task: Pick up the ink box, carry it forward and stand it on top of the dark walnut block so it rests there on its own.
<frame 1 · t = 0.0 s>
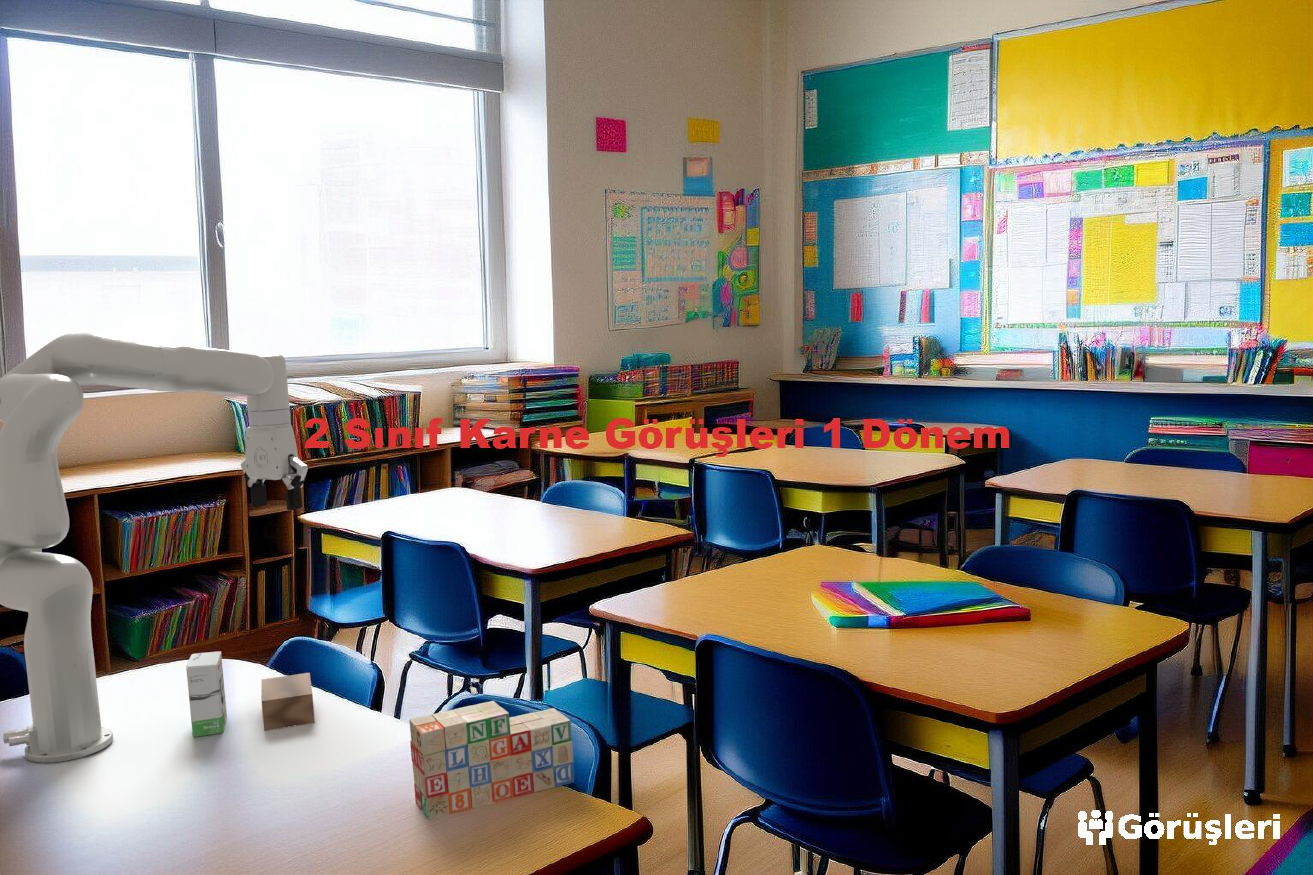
hand: (277, 507, 214), 31 cm above the table, tool pointing down, fingers open, 9 cm apart
ink box: (210, 728, 186), on the table
stack of blocks: (496, 794, 156), on the table
walnut block: (288, 714, 190), on the table
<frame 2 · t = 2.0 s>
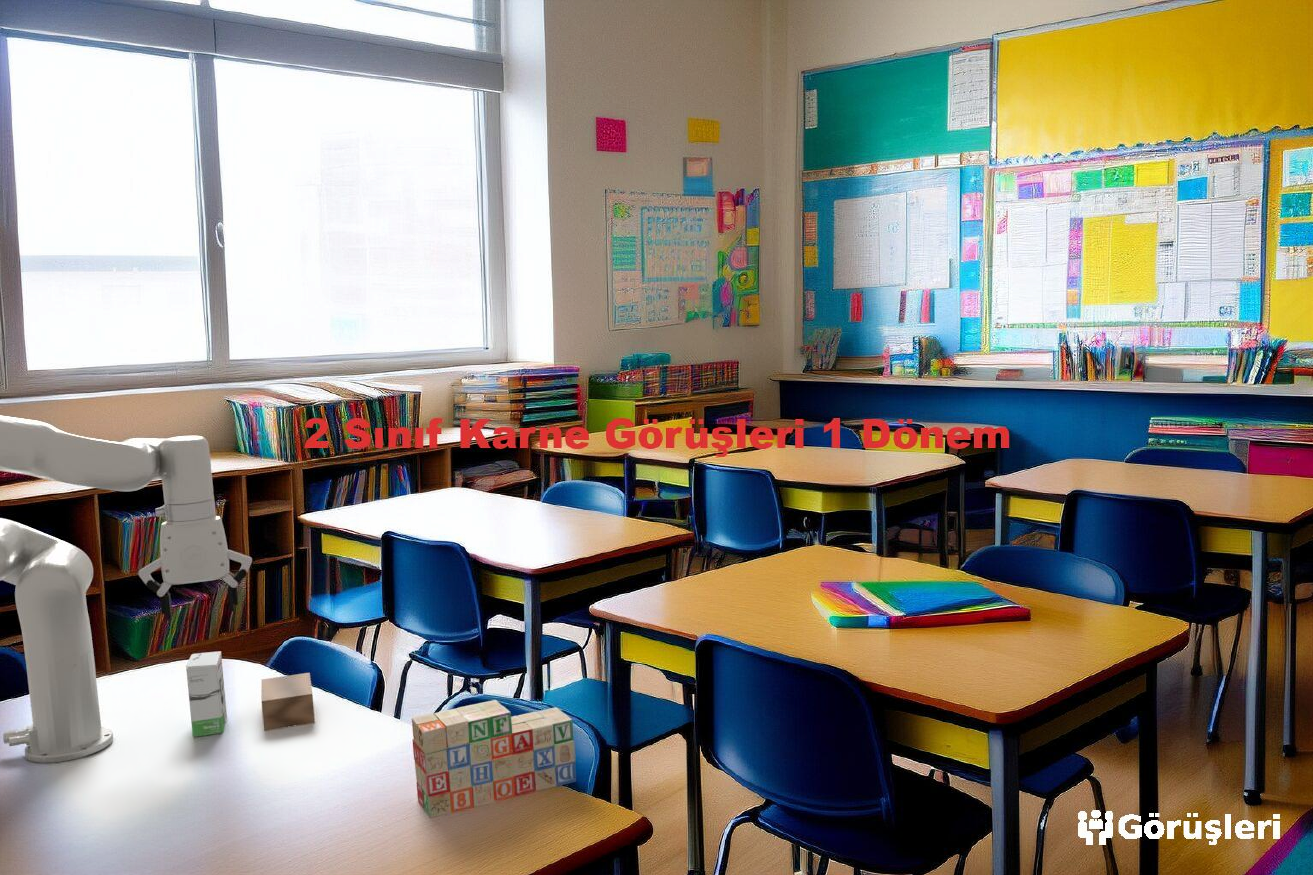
hand: (201, 613, 184), 19 cm above the table, tool pointing down, fingers open, 9 cm apart
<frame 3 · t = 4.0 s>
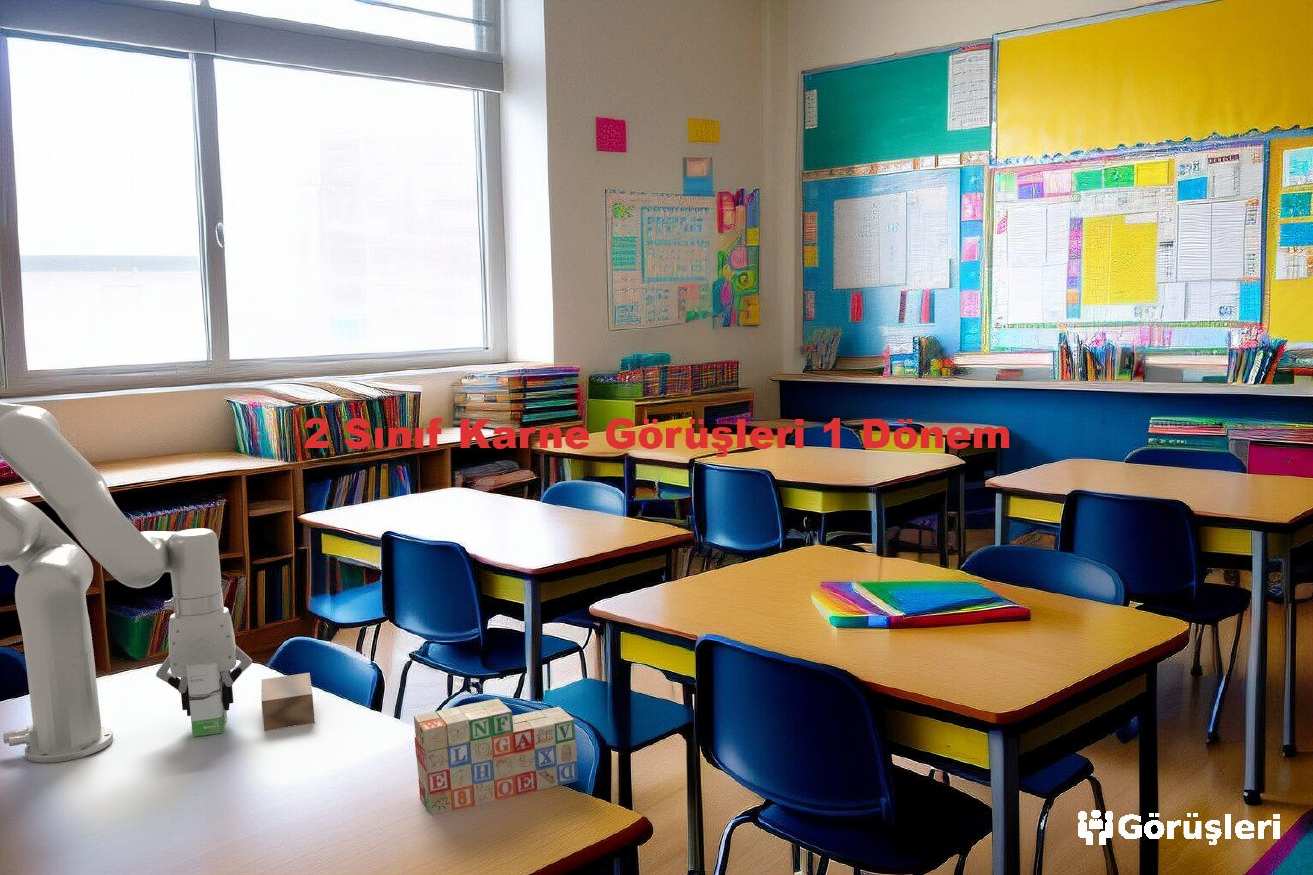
hand: (208, 709, 186), 3 cm above the table, tool pointing down, fingers closed on ink box, 5 cm apart
ink box: (210, 727, 186), on the table, touching gripper
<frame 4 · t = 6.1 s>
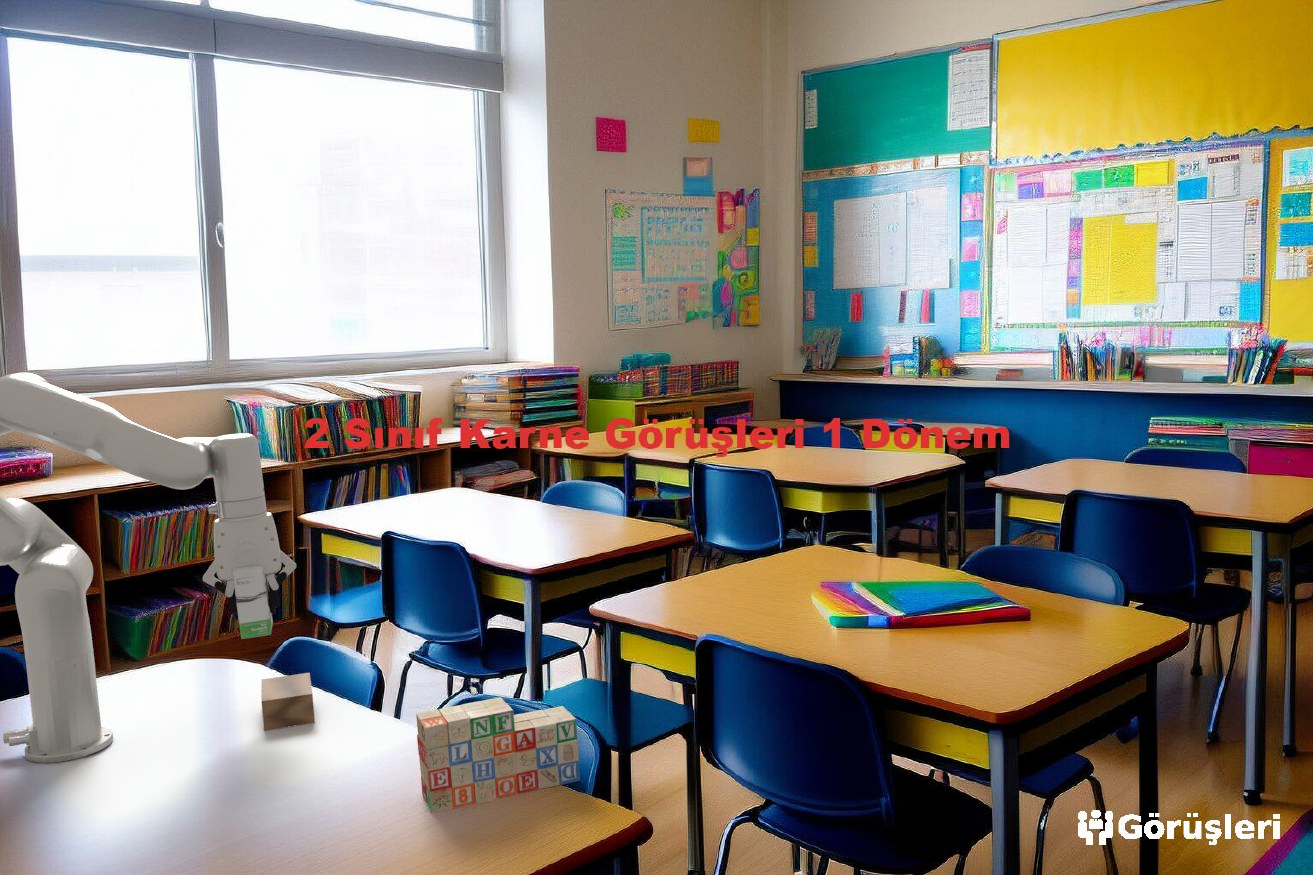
hand: (255, 613, 187), 18 cm above the table, tool pointing down, fingers closed on ink box, 5 cm apart
ink box: (257, 632, 187), point 15 cm above the table, touching gripper
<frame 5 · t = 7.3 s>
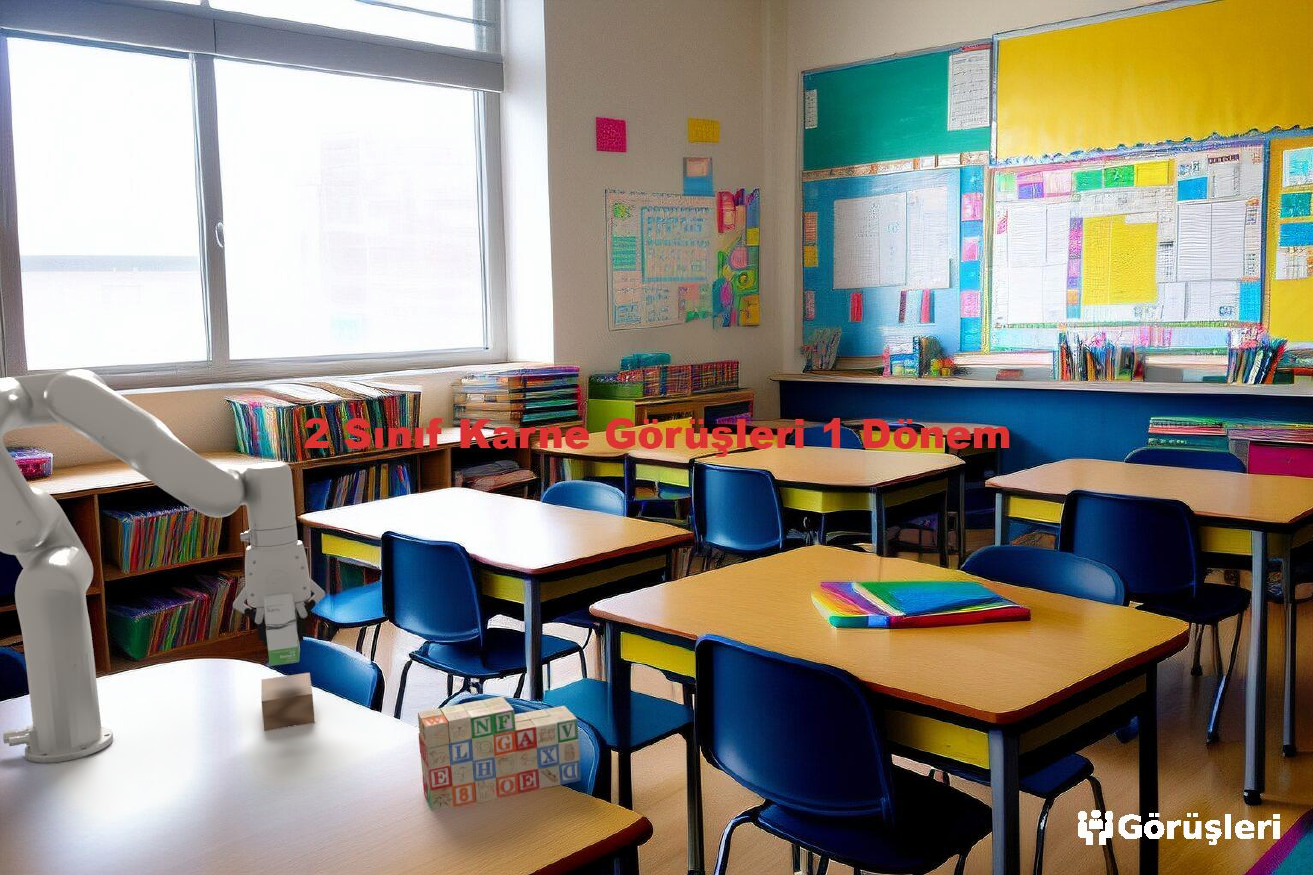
hand: (283, 640, 189), 13 cm above the table, tool pointing down, fingers closed on ink box, 5 cm apart
ink box: (285, 658, 189), point 10 cm above the table, touching gripper
when the fingers open (9 cm above the table, at t = 8.3 s): ink box drops 1 cm, resting on walnut block.
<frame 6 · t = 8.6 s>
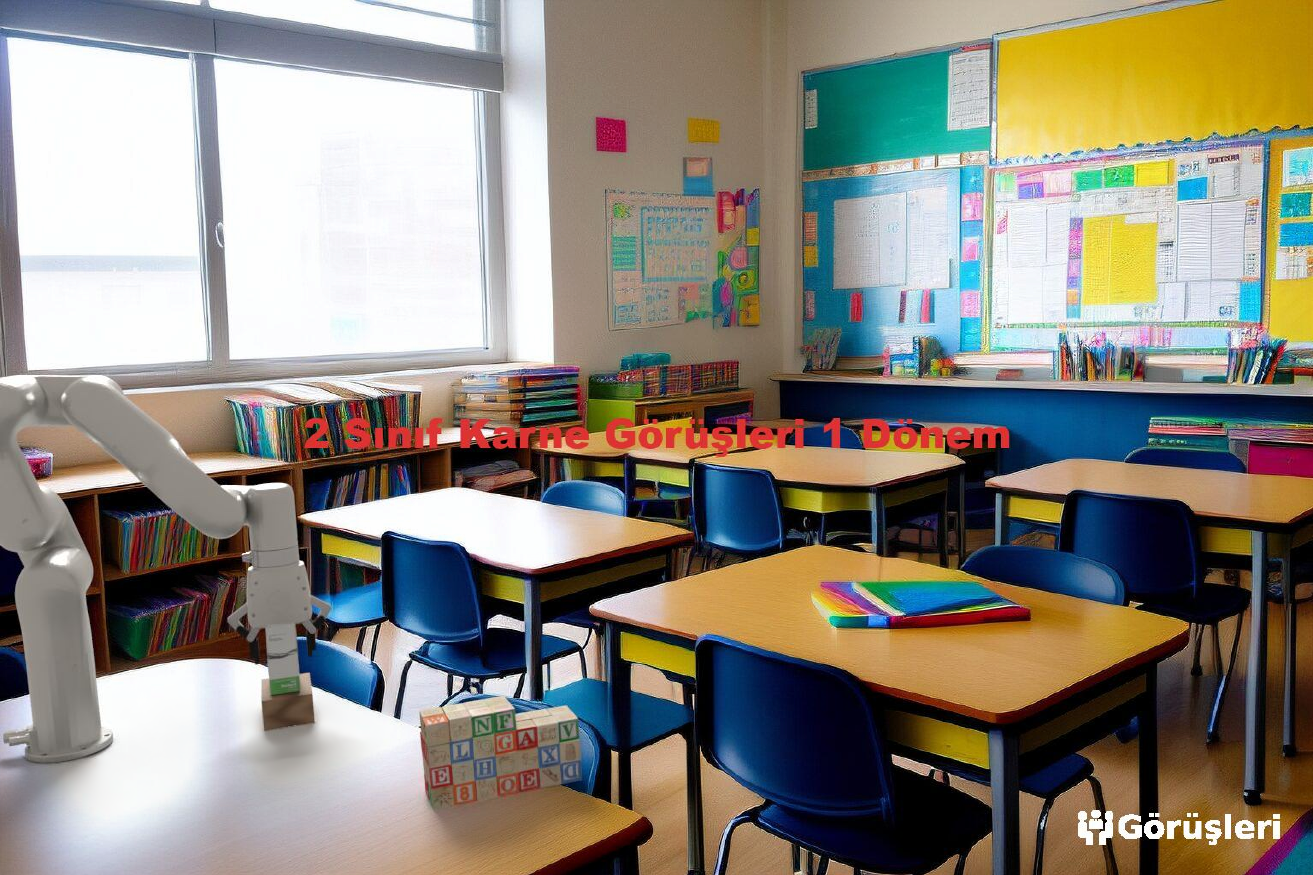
hand: (283, 658, 189), 10 cm above the table, tool pointing down, fingers open, 8 cm apart
ink box: (285, 687, 190), point 5 cm above the table, touching walnut block
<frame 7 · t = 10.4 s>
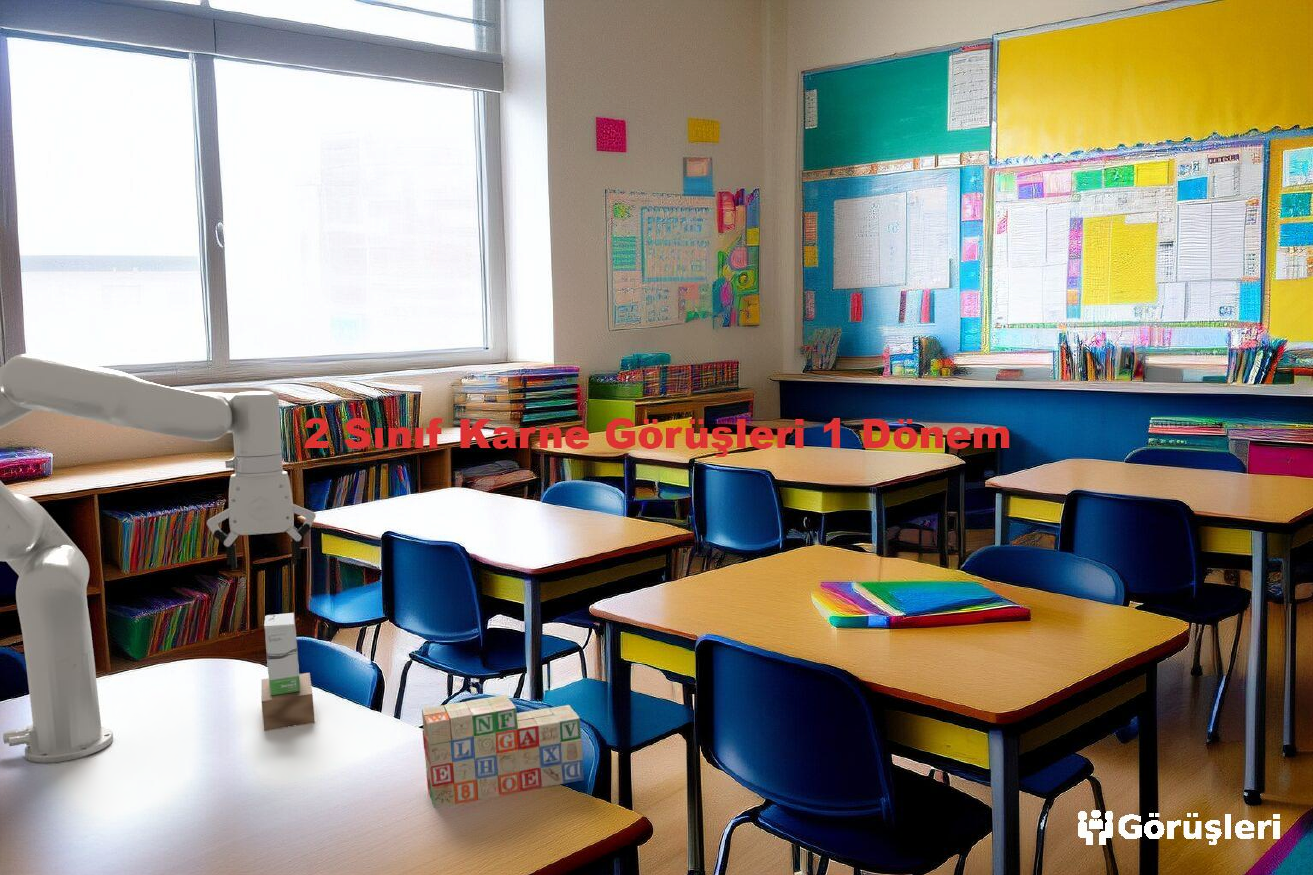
hand: (264, 565, 189), 26 cm above the table, tool pointing down, fingers open, 9 cm apart
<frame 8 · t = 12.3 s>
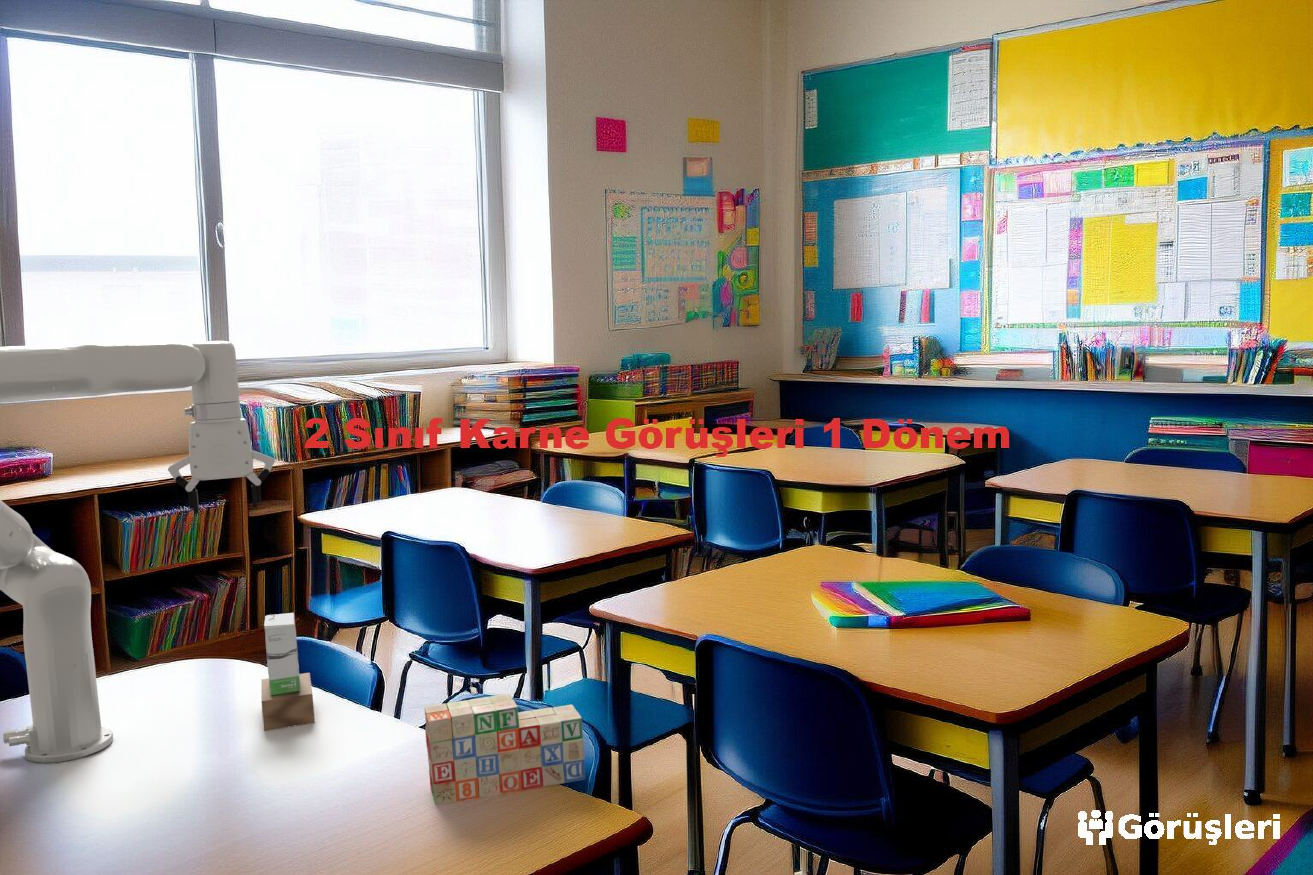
hand: (226, 510, 195), 34 cm above the table, tool pointing down, fingers open, 9 cm apart
at the end: ink box inside the target area on the walnut block (0.2 cm from its centre), point 4.8 cm above the walnut block's base; ink box tilted 0°; the gripper is holding nothing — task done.
